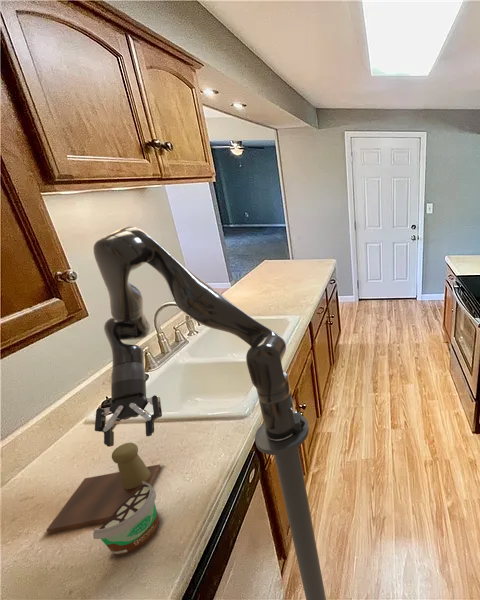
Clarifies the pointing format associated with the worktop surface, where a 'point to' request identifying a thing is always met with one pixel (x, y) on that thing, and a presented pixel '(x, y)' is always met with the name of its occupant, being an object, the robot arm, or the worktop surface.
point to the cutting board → (96, 501)
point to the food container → (131, 523)
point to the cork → (130, 465)
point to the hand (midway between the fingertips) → (130, 440)
